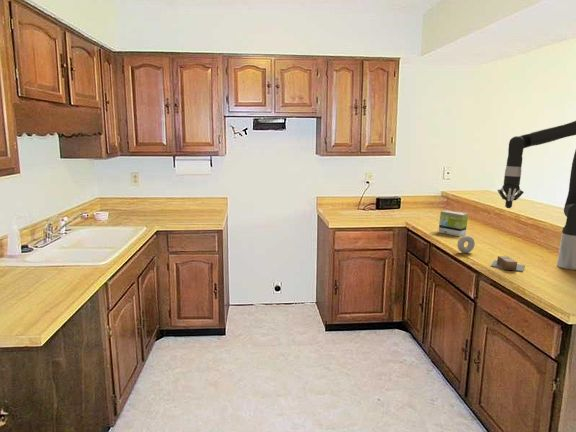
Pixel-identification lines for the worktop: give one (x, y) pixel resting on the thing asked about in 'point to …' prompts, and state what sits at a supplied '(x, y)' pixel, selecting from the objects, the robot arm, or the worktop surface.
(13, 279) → the worktop surface
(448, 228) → the tea box
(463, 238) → the donut
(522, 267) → the rubber mat
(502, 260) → the walnut block
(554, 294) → the worktop surface
